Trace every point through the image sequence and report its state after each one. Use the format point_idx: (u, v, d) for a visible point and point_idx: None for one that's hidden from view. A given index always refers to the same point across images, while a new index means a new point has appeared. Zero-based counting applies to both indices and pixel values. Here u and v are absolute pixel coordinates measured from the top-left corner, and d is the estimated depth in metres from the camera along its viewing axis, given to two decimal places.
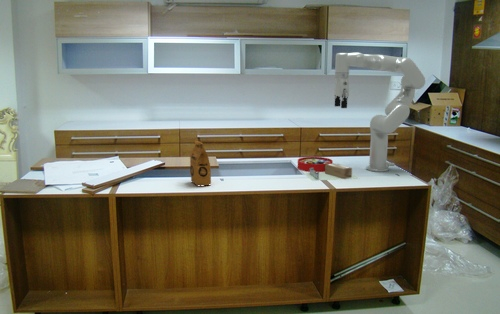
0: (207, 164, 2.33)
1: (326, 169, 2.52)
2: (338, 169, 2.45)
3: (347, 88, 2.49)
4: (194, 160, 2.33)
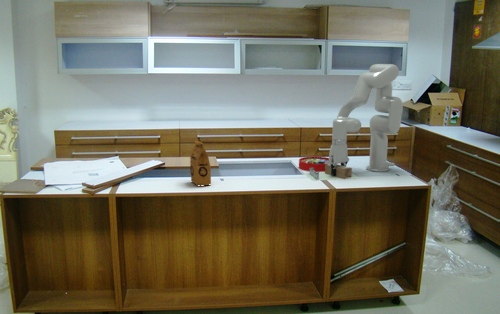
0: (207, 164, 2.33)
1: (326, 169, 2.52)
2: (338, 169, 2.45)
3: None
4: (194, 160, 2.33)
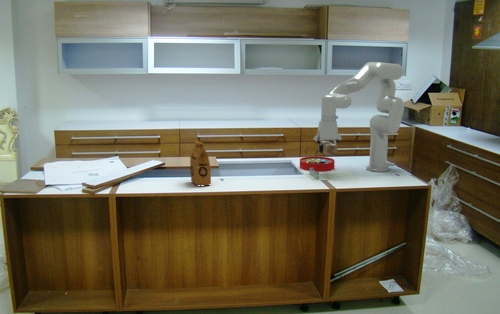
0: (207, 164, 2.33)
1: (318, 146, 2.51)
2: (323, 146, 2.42)
3: None
4: (194, 160, 2.33)
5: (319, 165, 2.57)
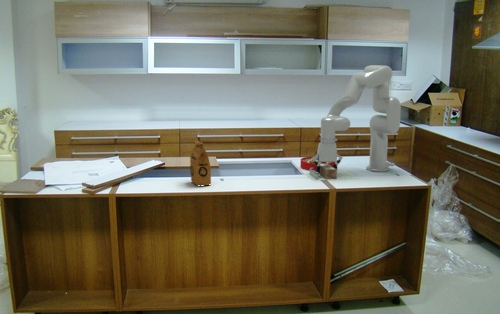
0: (207, 164, 2.33)
1: None
2: (323, 169, 2.44)
3: None
4: (194, 160, 2.33)
5: None
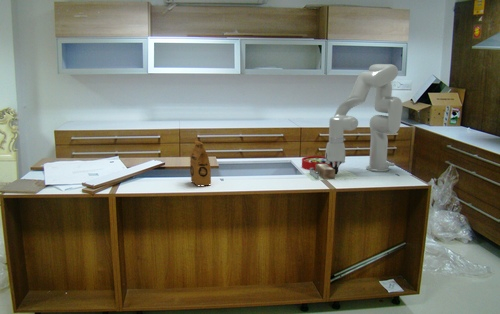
0: (207, 164, 2.33)
1: (316, 169, 2.53)
2: (321, 169, 2.44)
3: None
4: (194, 160, 2.33)
5: None
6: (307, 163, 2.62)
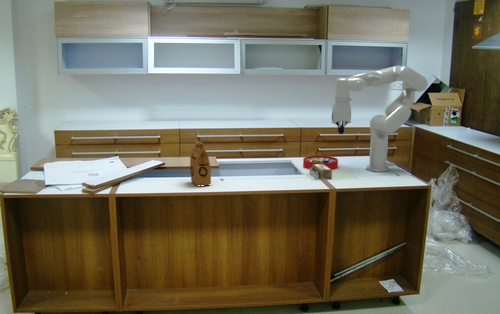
0: (207, 164, 2.33)
1: (313, 169, 2.53)
2: (318, 170, 2.44)
3: None
4: (194, 160, 2.33)
5: None
6: (308, 163, 2.63)
